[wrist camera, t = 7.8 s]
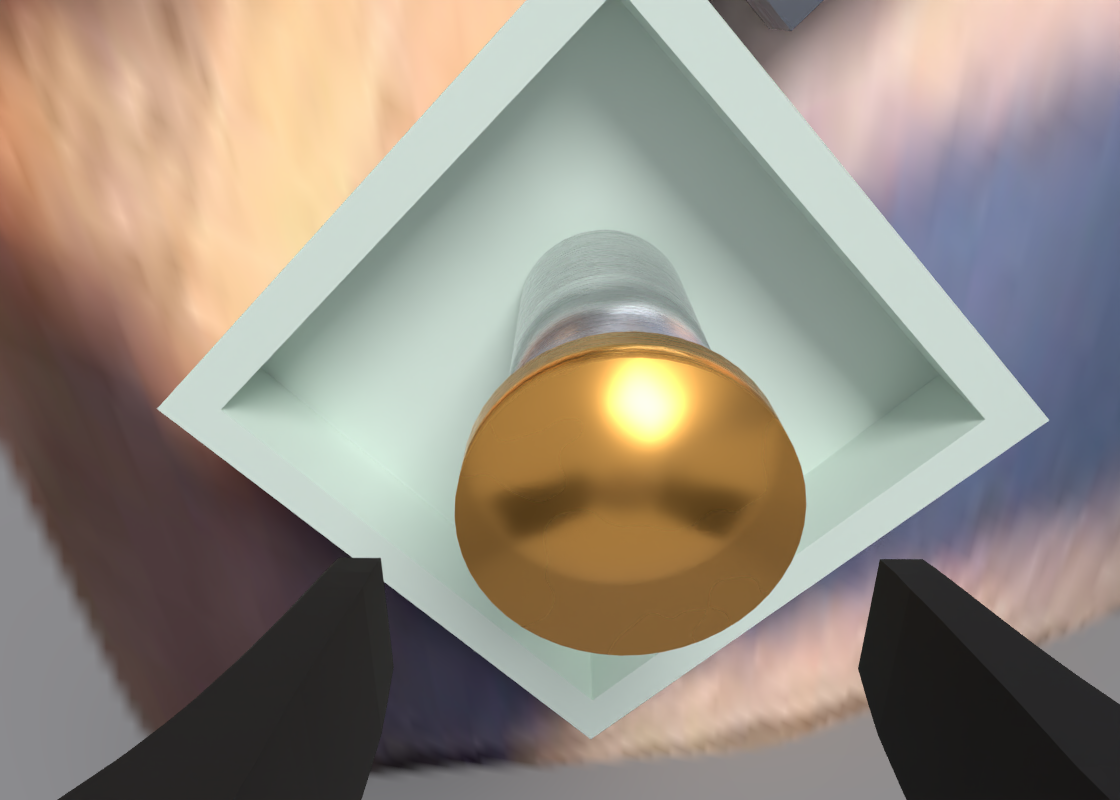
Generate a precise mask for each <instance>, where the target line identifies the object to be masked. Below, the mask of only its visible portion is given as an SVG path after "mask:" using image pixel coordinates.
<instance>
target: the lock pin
mask: <svg viewBox="0 0 1120 800" xmlns="http://www.w3.org/2000/svg"><path fill="white" fill-rule="evenodd" d="M805 514H806V489H805V481H804V477H803V472H802V468H801V464H800V462H799V459H798V457H797V454H796V451H795V449H794V446H793V445H792V443H791V441H790V439H789V437H788V435H787V433H786V431H785V429H784V427H783V426H782V424H781V422H780V420H779V418H778V416H777V414H776V412H775V411H774V409H773V407H772V406H771V404H770V402H769V401H768V399H767V397H766V396H765V395H764V393H763V392H762V391H761V390H760V388H759V387H758V386H757V385H756V384H755V382H754V381H753V380H752V379H751V378H750V377H748V376H747V375H746V374H745V373H744V372H743V371H742V370H741V369H740V368H739V367H737V366H736V365H734V364H733V363H732V362H730V361H729V360H727V359H726V358H724V357H723V356H721V355H720V354H718V353H716V352H714V351H712V350H711V349H710V347H709V344H708V342H707V340H706V337H705V335H704V333H703V331H702V328H701V326H700V324H699V321H698V319H697V317H696V314H695V312H694V310H693V308H692V305H691V303H690V301H689V298H688V296H687V294H686V291H685V289H684V287H683V284H682V282H681V280H680V278H679V275H678V273H677V271H676V270H675V268H674V266H673V265H672V263H671V262H670V261H669V260H668V258H667V257H666V256H665V255H664V254H663V253H662V252H661V251H660V250H659V249H658V248H656V247H655V246H653V245H652V244H651V243H649V242H648V241H646V240H644V239H642V238H640V237H638V236H635V235H632V234H629V233H625V232H621V231H615V230H594V231H588V232H583V233H580V234H576V235H573V236H571V237H569V238H567V239H564V240H562V241H561V242H559V243H558V244H556V245H554V246H553V247H552V248H551V249H549V250H548V251H547V252H546V253H545V254H544V255H543V256H542V257H541V258H540V259H539V260H538V261H537V263H536V264H535V265H534V267H533V268H532V270H531V271H530V273H529V275H528V277H527V279H526V281H525V284H524V287H523V290H522V295H521V299H520V306H519V313H518V320H517V326H516V333H515V340H514V347H513V353H512V360H511V367H510V374H509V377H508V378H507V379H506V380H505V381H504V382H503V383H502V384H501V385H500V386H499V387H498V388H497V390H496V391H495V392H494V393H493V394H492V396H491V397H490V398H489V400H488V401H487V403H486V404H485V405H484V407H483V408H482V410H481V412H480V414H479V416H478V417H477V419H476V421H475V423H474V425H473V427H472V430H471V433H470V436H469V439H468V441H467V444H466V449H465V453H464V458H463V462H462V467H461V471H460V476H459V481H458V486H457V491H456V496H455V516H454V517H455V526H456V534H457V539H458V543H459V546H460V550H461V553H462V556H463V558H464V561H465V563H466V565H467V567H468V570H469V572H470V573H471V575H472V577H473V578H474V580H475V581H476V583H477V585H478V586H479V588H480V589H481V590H482V591H483V593H484V594H485V595H486V596H487V597H488V599H489V600H490V601H491V602H492V603H493V604H494V605H495V606H496V607H497V608H498V609H499V610H500V611H502V612H503V613H504V614H505V615H506V616H507V617H508V618H510V619H511V620H513V621H514V622H516V623H517V624H518V625H520V626H521V627H523V628H524V629H526V630H528V631H530V632H532V633H534V634H535V635H537V636H539V637H541V638H543V639H546V640H548V641H551V642H553V643H556V644H558V645H561V646H565V647H568V648H572V649H575V650H579V651H584V652H590V653H596V654H605V655H619V656H624V655H645V654H652V653H660V652H665V651H669V650H674V649H678V648H682V647H685V646H688V645H691V644H694V643H697V642H700V641H702V640H705V639H707V638H709V637H711V636H713V635H715V634H717V633H719V632H722V631H723V630H725V629H726V628H728V627H730V626H731V625H733V624H735V623H736V622H738V621H739V620H741V619H742V618H743V617H745V616H746V615H747V614H748V613H750V612H751V611H752V610H754V609H755V608H756V607H757V606H758V605H759V604H760V603H761V602H762V601H763V600H764V599H765V598H766V597H767V596H768V595H769V594H770V593H771V592H772V590H773V589H774V588H775V586H776V585H777V584H778V583H779V581H780V580H781V579H782V577H783V576H784V574H785V572H786V571H787V569H788V567H789V566H790V564H791V562H792V560H793V558H794V555H795V553H796V551H797V548H798V546H799V543H800V540H801V536H802V532H803V528H804V524H805Z"/></svg>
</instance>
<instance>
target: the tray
mask: <svg viewBox="0 0 1120 800" xmlns="http://www.w3.org/2000/svg"><path fill="white" fill-rule="evenodd" d="M594 230H615V231H621V232H625V233H629V234H632V235H635V236H638V237H640V238H642V239H644V240H646V241H648V242H649V243H651V244H652V245H653V246H655V247H656V248H658V249H659V250H660V251H661V252H662V253H663V254H664V255H665V256H666V257H667V258H668V260H669V261H670V262H671V263H672V265H673V266H674V268H675V270H676V271H677V273H678V275H679V278H680V280H681V282H682V284H683V287H684V289H685V291H686V294H687V296H688V298H689V301H690V303H691V305H692V308H693V310H694V312H695V314H696V317H697V319H698V321H699V324H700V326H701V328H702V331H703V333H704V335H705V337H706V340H707V342H708V344H709V347H710V349H711V350H712V351H714V352H716V353H718V354H720V355H721V356H723V357H724V358H726V359H727V360H729V361H730V362H732V363H733V364H734V365H736V366H737V367H739V368H740V369H741V370H742V371H743V372H744V373H745V374H746V375H747V376H748V377H750V378H751V379H752V380H753V381H754V382H755V384H756V385H757V386H758V387H759V388H760V390H761V391H762V392H763V393H764V395H765V396H766V397H767V399H768V401H769V402H770V404H771V406H772V407H773V409H774V411H775V412H776V414H777V416H778V418H779V420H780V422H781V424H782V426H783V427H784V429H785V431H786V433H787V435H788V437H789V439H790V441H791V443H792V445H793V446H794V449H795V451H796V454H797V457H798V459H799V462H800V464H801V468H802V472H803V477H804V481H805V489H806V514H805V524H804V528H803V532H802V536H801V540H800V543H799V546H798V548H797V551H796V553H795V555H794V558H793V560H792V562H791V564H790V566H789V567H788V569H787V571H786V572H785V574H784V576H783V577H782V579H781V580H780V581H779V583H778V584H777V585H776V586H775V588H774V589H773V590H772V592H771V593H770V594H769V595H768V596H767V597H766V598H765V599H764V600H763V601H762V602H761V603H760V604H759V605H758V606H757V607H756V608H755V609H754V610H752V611H751V612H750V613H748V614H747V615H746V616H745V617H743V618H742V619H741V620H739V621H738V622H736V623H735V624H733V625H731V626H730V627H728V628H726V629H725V630H723V631H722V632H719V633H717V634H715V635H713V636H711V637H709V638H707V639H705V640H702V641H700V642H697V643H694V644H691V645H688V646H685V647H682V648H678V649H674V650H669V651H665V652H660V653H652V654H645V655H624V656H619V655H605V654H596V653H590V652H584V651H579V650H575V649H572V648H568V647H565V646H561V645H558V644H556V643H553V642H551V641H548V640H546V639H543V638H541V637H539V636H537V635H535V634H534V633H532V632H530V631H528V630H526V629H524V628H523V627H521V626H520V625H518V624H517V623H516V622H514V621H513V620H511V619H510V618H508V617H507V616H506V615H505V614H504V613H503V612H502V611H500V610H499V609H498V608H497V607H496V606H495V605H494V604H493V603H492V602H491V601H490V600H489V599H488V597H487V596H486V595H485V594H484V593H483V591H482V590H481V589H480V588H479V586H478V585H477V583H476V581H475V580H474V578H473V577H472V575H471V573H470V572H469V570H468V567H467V565H466V563H465V561H464V558H463V556H462V553H461V550H460V546H459V543H458V539H457V534H456V526H455V517H454V516H455V496H456V491H457V486H458V481H459V476H460V471H461V467H462V462H463V458H464V453H465V449H466V444H467V441H468V439H469V436H470V433H471V430H472V427H473V425H474V423H475V421H476V419H477V417H478V416H479V414H480V412H481V410H482V408H483V407H484V405H485V404H486V403H487V401H488V400H489V398H490V397H491V396H492V394H493V393H494V392H495V391H496V390H497V388H498V387H499V386H500V385H501V384H502V383H503V382H504V381H505V380H506V379H507V378H508V377H509V374H510V367H511V360H512V353H513V347H514V340H515V333H516V326H517V320H518V313H519V306H520V299H521V295H522V290H523V287H524V284H525V281H526V279H527V277H528V275H529V273H530V271H531V270H532V268H533V267H534V265H535V264H536V263H537V261H538V260H539V259H540V258H541V257H542V256H543V255H544V254H545V253H546V252H547V251H548V250H549V249H551V248H552V247H553V246H554V245H556V244H558V243H559V242H561V241H562V240H564V239H567V238H569V237H571V236H573V235H576V234H580V233H583V232H588V231H594ZM158 410H159V411H161V412H162V413H163V414H165V415H166V416H167V417H169V418H170V419H171V420H172V421H174V422H175V423H176V424H178V425H179V426H180V427H182V428H183V429H184V430H186V431H187V432H188V433H190V434H191V435H192V436H193V437H195V438H196V439H197V440H199V441H200V442H201V443H203V444H204V445H205V446H207V447H208V448H209V449H211V450H212V451H213V452H214V453H216V454H217V455H218V456H220V457H221V458H222V459H224V460H225V461H226V462H228V463H229V464H230V465H232V466H233V467H234V468H235V469H237V470H238V471H239V472H241V473H242V474H243V475H245V476H246V477H247V478H249V479H250V480H251V481H253V482H254V483H255V484H256V485H258V486H259V487H260V488H262V489H263V490H264V491H266V492H267V493H268V494H270V495H271V496H272V497H274V498H275V499H276V500H277V501H279V502H280V503H281V504H283V505H284V506H285V507H287V508H288V509H289V510H291V511H292V512H293V513H295V514H296V515H297V516H298V517H300V518H301V519H302V520H304V521H305V522H306V523H308V524H309V525H310V526H312V527H313V528H314V529H316V530H317V531H318V532H319V533H321V534H322V535H323V536H325V537H326V538H327V539H329V540H330V541H331V542H333V543H334V544H335V545H337V546H338V547H339V548H340V549H342V550H343V551H344V552H346V553H347V554H348V555H350V556H351V557H352V558H381V563H382V572H383V580H384V582H385V583H386V584H388V585H389V586H390V587H392V588H393V589H394V590H396V591H397V592H398V593H400V594H401V595H402V596H403V597H405V598H406V599H407V600H409V601H410V602H411V603H413V604H414V605H415V606H417V607H418V608H419V609H421V610H422V611H423V612H424V613H426V614H427V615H428V616H430V617H431V618H432V619H434V620H435V621H436V622H438V623H439V624H440V625H442V626H443V627H444V628H445V629H447V630H448V631H449V632H451V633H452V634H453V635H455V636H456V637H457V638H459V639H460V640H461V641H463V642H464V643H465V644H466V645H468V646H469V647H470V648H472V649H473V650H474V651H476V652H477V653H478V654H480V655H481V656H482V657H484V658H485V659H486V660H487V661H489V662H490V663H491V664H493V665H494V666H495V667H497V668H498V669H499V670H501V671H502V672H503V673H505V674H506V675H507V676H508V677H510V678H511V679H512V680H514V681H515V682H516V683H518V684H519V685H520V686H522V687H523V688H524V689H526V690H527V691H528V692H529V693H531V694H532V695H533V696H535V697H536V698H537V699H539V700H540V701H541V702H543V703H544V704H545V705H547V706H548V707H549V708H550V709H552V710H553V711H554V712H556V713H557V714H558V715H560V716H561V717H562V718H564V719H565V720H566V721H568V722H569V723H570V724H571V725H573V726H574V727H575V728H577V729H578V730H579V731H581V732H582V733H583V734H585V735H586V736H587V737H589V738H590V739H592V738H593V737H595V736H596V735H598V734H599V733H601V732H602V731H604V730H605V729H606V728H608V727H609V726H611V725H612V724H614V723H615V722H616V721H618V720H619V719H621V718H622V717H624V716H625V715H626V714H628V713H629V712H631V711H632V710H634V709H635V708H637V707H638V706H639V705H641V704H642V703H644V702H645V701H647V700H648V699H649V698H651V697H652V696H654V695H655V694H657V693H658V692H660V691H661V690H662V689H664V688H665V687H667V686H668V685H670V684H671V683H672V682H674V681H675V680H677V679H678V678H680V677H681V676H683V675H684V674H685V673H687V672H688V671H690V670H691V669H693V668H694V667H695V666H697V665H698V664H700V663H701V662H703V661H704V660H706V659H707V658H708V657H710V656H711V655H713V654H714V653H716V652H717V651H718V650H720V649H721V648H723V647H724V646H726V645H727V644H729V643H730V642H731V641H733V640H734V639H736V638H737V637H739V636H740V635H741V634H743V633H744V632H746V631H747V630H749V629H750V628H752V627H753V626H754V625H756V624H757V623H759V622H760V621H762V620H763V619H764V618H766V617H767V616H769V615H770V614H772V613H773V612H774V611H776V610H777V609H779V608H780V607H782V606H783V605H785V604H786V603H787V602H789V601H790V600H792V599H793V598H795V597H796V596H797V595H799V594H800V593H802V592H803V591H805V590H806V589H808V588H809V587H810V586H812V585H813V584H815V583H816V582H818V581H819V580H820V579H822V578H823V577H825V576H826V575H828V574H829V573H831V572H832V571H833V570H835V569H836V568H838V567H839V566H841V565H842V564H843V563H845V562H846V561H848V560H849V559H851V558H852V557H854V556H855V555H856V554H858V553H859V552H861V551H862V550H864V549H865V548H866V547H868V546H869V545H871V544H872V543H874V542H875V541H877V540H878V539H879V538H881V537H882V536H884V535H885V534H887V533H888V532H889V531H891V530H892V529H894V528H895V527H897V526H898V525H900V524H901V523H902V522H904V521H905V520H907V519H908V518H910V517H911V516H912V515H914V514H915V513H917V512H918V511H920V510H921V509H922V508H924V507H925V506H927V505H928V504H930V503H931V502H933V501H934V500H935V499H937V498H938V497H940V496H941V495H943V494H944V493H945V492H947V491H948V490H950V489H951V488H953V487H954V486H956V485H957V484H958V483H960V482H961V481H963V480H964V479H966V478H967V477H968V476H970V475H971V474H973V473H974V472H976V471H977V470H979V469H980V468H981V467H983V466H984V465H986V464H987V463H989V462H990V461H991V460H993V459H994V458H996V457H997V456H999V455H1000V454H1002V453H1003V452H1004V451H1006V450H1007V449H1009V448H1010V447H1012V446H1013V445H1014V444H1016V443H1017V442H1019V441H1020V440H1022V439H1023V438H1025V437H1026V436H1027V435H1029V434H1030V433H1032V432H1033V431H1035V430H1036V429H1037V428H1039V427H1040V426H1042V425H1043V424H1045V423H1046V422H1048V421H1049V419H1048V418H1047V417H1046V416H1045V414H1044V413H1043V412H1042V411H1041V409H1040V408H1039V407H1038V406H1037V405H1036V403H1035V402H1034V401H1033V400H1032V398H1031V397H1030V396H1029V395H1028V393H1027V392H1026V391H1025V390H1024V389H1023V387H1022V386H1021V385H1020V384H1019V382H1018V381H1017V380H1016V379H1015V377H1014V376H1013V375H1012V374H1011V373H1010V371H1009V370H1008V369H1007V368H1006V366H1005V365H1004V364H1003V363H1002V361H1001V360H1000V359H999V358H998V357H997V355H996V354H995V353H994V352H993V350H992V349H991V348H990V347H989V345H988V344H987V343H986V342H985V341H984V339H983V338H982V337H981V336H980V334H979V333H978V332H977V331H976V329H975V328H974V327H973V326H972V325H971V323H970V322H969V321H968V320H967V318H966V317H965V316H964V315H963V314H962V312H961V311H960V310H959V309H958V307H957V306H956V305H955V304H954V302H953V301H952V300H951V299H950V298H949V296H948V295H947V294H946V293H945V291H944V290H943V289H942V288H941V286H940V285H939V284H938V283H937V282H936V280H935V279H934V278H933V277H932V275H931V274H930V273H929V272H928V270H927V269H926V268H925V267H924V266H923V264H922V263H921V262H920V261H919V259H918V258H917V257H916V256H915V254H914V253H913V252H912V251H911V250H910V248H909V247H908V246H907V245H906V243H905V242H904V241H903V240H902V238H901V237H900V236H899V235H898V234H897V232H896V231H895V230H894V229H893V227H892V226H891V225H890V224H889V222H888V221H887V220H886V219H885V218H884V216H883V215H882V214H881V213H880V211H879V210H878V209H877V208H876V206H875V205H874V204H873V203H872V202H871V200H870V199H869V198H868V197H867V195H866V194H865V193H864V192H863V190H862V189H861V188H860V187H859V186H858V184H857V183H856V182H855V181H854V179H853V178H852V177H851V176H850V174H849V173H848V172H847V171H846V170H845V168H844V167H843V166H842V165H841V163H840V162H839V161H838V160H837V159H836V157H835V156H834V155H833V154H832V152H831V151H830V150H829V149H828V147H827V146H826V145H825V144H824V143H823V141H822V140H821V139H820V138H819V136H818V135H817V134H816V133H815V131H814V130H813V129H812V128H811V127H810V125H809V124H808V123H807V122H806V120H805V119H804V118H803V117H802V115H801V114H800V113H799V112H798V111H797V109H796V108H795V107H794V106H793V104H792V103H791V102H790V101H789V99H788V98H787V97H786V96H785V95H784V93H783V92H782V91H781V90H780V88H779V87H778V86H777V85H776V83H775V82H774V81H773V80H772V79H771V77H770V76H769V75H768V74H767V72H766V71H765V70H764V69H763V67H762V66H761V65H760V64H759V63H758V61H757V60H756V59H755V58H754V56H753V55H752V54H751V53H750V51H749V50H748V49H747V48H746V47H745V45H744V44H743V43H742V42H741V40H740V39H739V38H738V37H737V35H736V34H735V33H734V32H733V31H732V29H731V28H730V27H729V26H728V24H727V23H726V22H725V21H724V20H723V18H722V17H721V16H720V15H719V13H718V12H717V11H716V10H715V8H714V7H713V6H712V5H711V4H710V2H709V1H708V0H526V1H525V2H524V3H523V5H522V6H521V7H520V8H519V9H518V10H517V11H516V12H515V13H514V15H513V16H512V17H511V18H510V19H509V20H508V21H507V22H506V23H505V24H504V26H503V27H502V28H501V29H500V30H499V31H498V32H497V33H496V34H495V36H494V37H493V38H492V39H491V40H490V41H489V42H488V43H487V44H486V45H485V47H484V48H483V49H482V50H481V51H480V52H479V53H478V54H477V55H476V57H475V58H474V59H473V60H472V61H471V62H470V63H469V64H468V65H467V67H466V68H465V69H464V70H463V71H462V72H461V73H460V74H459V75H458V76H457V78H456V79H455V80H454V81H453V82H452V83H451V84H450V85H449V86H448V88H447V89H446V90H445V91H444V92H443V93H442V94H441V95H440V96H439V98H438V99H437V100H436V101H435V102H434V103H433V104H432V105H431V106H430V107H429V109H428V110H427V111H426V112H425V113H424V114H423V115H422V116H421V117H420V119H419V120H418V121H417V122H416V123H415V124H414V125H413V126H412V127H411V129H410V130H409V131H408V132H407V133H406V134H405V135H404V136H403V137H402V138H401V140H400V141H399V142H398V143H397V144H396V145H395V146H394V147H393V148H392V150H391V151H390V152H389V153H388V154H387V155H386V156H385V157H384V158H383V159H382V161H381V162H380V163H379V164H378V165H377V166H376V167H375V168H374V169H373V171H372V172H371V173H370V174H369V175H368V176H367V177H366V178H365V179H364V181H363V182H362V183H361V184H360V185H359V186H358V187H357V188H356V189H355V190H354V192H353V193H352V194H351V195H350V196H349V197H348V198H347V199H346V200H345V202H344V203H343V204H342V205H341V206H340V207H339V208H338V209H337V210H336V212H335V213H334V214H333V215H332V216H331V217H330V218H329V219H328V220H327V221H326V223H325V224H324V225H323V226H322V227H321V228H320V229H319V230H318V231H317V233H316V234H315V235H314V236H313V237H312V238H311V239H310V240H309V241H308V242H307V244H306V245H305V246H304V247H303V248H302V249H301V250H300V251H299V252H298V254H297V255H296V256H295V257H294V258H293V259H292V260H291V261H290V262H289V264H288V265H287V266H286V267H285V268H284V269H283V270H282V271H281V272H280V273H279V275H278V276H277V277H276V278H275V279H274V280H273V281H272V282H271V283H270V285H269V286H268V287H267V288H266V289H265V290H264V291H263V292H262V293H261V295H260V296H259V297H258V298H257V299H256V300H255V301H254V302H253V303H252V304H251V306H250V307H249V308H248V309H247V310H246V311H245V312H244V313H243V314H242V316H241V317H240V318H239V319H238V320H237V321H236V322H235V323H234V324H233V326H232V327H231V328H230V329H229V330H228V331H227V332H226V333H225V334H224V335H223V337H222V338H221V339H220V340H219V341H218V342H217V343H216V344H215V345H214V347H213V348H212V349H211V350H210V351H209V352H208V353H207V354H206V355H205V356H204V358H203V359H202V360H201V361H200V362H199V363H198V364H197V365H196V366H195V368H194V369H193V370H192V371H191V372H190V373H189V374H188V375H187V376H186V378H185V379H184V380H183V381H182V382H181V383H180V384H179V385H178V386H177V387H176V389H175V390H174V391H173V392H172V393H171V394H170V395H169V396H168V397H167V399H166V400H165V401H164V402H163V403H162V404H161V405H160V406H159V407H158Z"/></svg>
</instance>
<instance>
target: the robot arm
mask: <svg viewBox="0 0 1120 800" xmlns="http://www.w3.org/2000/svg"><path fill="white" fill-rule="evenodd" d="M858 670H859V673H860V677H861V680H862V684H863V687H864V691H865V694H866V698H867V701H868V705H869V708H870V711H871V714H872V717H873V721H874V724H875V727H876V730H877V733H878V736H879V738H880V740H881V743H882V745H883V747H884V750H885V752H886V754H887V757H888V759H889V761H890V764H891V766H892V768H893V770H894V773H895V775H896V777H897V779H898V781H899V784H900V786H901V789H902V791H903V793H904V795H905V797H906V799H907V800H1120V704H1118V703H1117V702H1115V701H1114V700H1112V699H1111V698H1109V697H1108V696H1107V695H1105V694H1104V693H1102V692H1101V691H1099V690H1098V689H1096V688H1095V687H1093V686H1092V685H1090V684H1089V683H1087V682H1086V681H1085V680H1083V679H1082V678H1080V677H1079V676H1077V675H1076V674H1074V673H1073V672H1072V671H1070V670H1069V669H1068V668H1066V667H1065V666H1063V665H1062V664H1061V663H1059V662H1058V661H1056V660H1055V659H1054V658H1052V657H1051V656H1050V655H1048V654H1047V653H1046V652H1044V651H1043V650H1041V649H1040V648H1039V647H1037V646H1036V645H1035V644H1033V643H1032V642H1031V641H1029V640H1028V639H1027V638H1025V637H1024V636H1023V635H1021V634H1020V633H1019V632H1018V631H1016V630H1015V629H1014V628H1012V627H1011V626H1010V625H1008V624H1007V623H1006V622H1004V621H1003V620H1002V619H1001V618H999V617H998V616H997V615H995V614H994V613H993V612H992V611H990V610H989V609H988V608H986V607H985V606H984V605H983V604H981V603H980V602H979V601H977V600H976V599H975V598H974V597H972V596H971V595H970V594H968V593H967V592H966V591H965V590H963V589H962V588H961V587H959V586H958V585H957V584H955V583H954V582H953V581H952V580H950V579H949V578H948V577H946V576H945V575H944V574H942V573H941V572H940V571H938V570H937V569H936V568H934V567H933V566H931V565H930V564H928V563H927V562H926V561H924V560H923V559H880V562H879V567H878V572H877V577H876V582H875V587H874V592H873V597H872V602H871V607H870V612H869V617H868V622H867V627H866V632H865V637H864V642H863V647H862V652H861V657H860V662H859V667H858ZM392 673H393V658H392V649H391V641H390V632H389V623H388V615H387V606H386V598H385V589H384V580H383V572H382V563H381V558H338V559H337V560H336V561H335V562H334V563H333V564H332V565H331V566H330V567H329V568H328V569H327V570H326V571H325V572H324V573H323V574H322V575H321V576H320V577H319V578H318V579H317V581H316V582H315V583H314V584H313V585H312V586H311V587H310V588H309V589H308V590H307V591H306V592H305V593H304V594H303V595H302V596H301V597H300V598H299V600H298V601H297V602H296V603H295V604H294V605H293V606H292V607H291V608H290V609H289V610H288V611H287V612H286V613H285V614H284V615H283V616H282V617H281V618H280V619H279V620H278V621H277V622H276V623H275V624H274V625H273V626H272V627H271V628H270V629H269V630H268V631H267V632H266V633H265V634H264V635H263V636H262V637H261V638H260V639H259V640H258V641H257V642H256V643H255V644H254V645H253V646H252V647H251V648H250V649H249V650H248V651H247V652H246V653H245V654H244V655H243V656H242V657H241V658H240V659H239V660H238V661H236V662H235V663H234V664H233V665H232V666H231V667H230V668H229V669H228V670H227V671H225V672H224V673H223V674H222V675H221V676H220V677H219V678H218V679H217V680H215V681H214V682H213V683H212V684H211V685H210V686H209V687H208V688H207V689H205V690H204V691H203V692H202V693H201V694H200V695H199V696H198V697H197V698H195V699H194V700H193V701H192V702H191V703H190V704H188V705H187V706H186V707H185V708H184V709H182V710H181V711H180V712H179V713H178V714H176V715H175V716H174V717H173V718H171V719H170V720H169V721H168V722H166V723H165V724H164V725H163V726H161V727H160V728H159V729H157V730H156V731H155V732H153V733H152V734H151V735H149V736H148V737H147V738H145V739H144V740H143V741H142V742H140V743H139V744H138V745H136V746H135V747H134V748H132V749H131V750H130V751H128V752H127V753H126V754H124V755H123V756H122V757H120V758H119V759H117V760H116V761H114V762H113V763H112V764H110V765H108V766H107V767H105V768H104V769H103V770H101V771H100V772H98V773H97V774H95V775H94V776H92V777H91V778H89V779H88V780H86V781H85V782H83V783H82V784H80V785H79V786H77V787H76V788H74V789H73V790H71V791H70V792H68V793H67V794H65V795H64V796H62V797H61V798H59V799H58V800H361V799H362V796H363V792H364V789H365V786H366V783H367V780H368V776H369V773H370V770H371V767H372V763H373V760H374V757H375V753H376V750H377V747H378V743H379V740H380V737H381V733H382V728H383V723H384V718H385V713H386V707H387V702H388V696H389V690H390V684H391V678H392Z"/></svg>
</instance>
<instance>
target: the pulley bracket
mask: <svg viewBox="0 0 1120 800" xmlns="http://www.w3.org/2000/svg"><path fill="white" fill-rule="evenodd" d="M746 1H747V2H748V3H749V5H750V6H751V7H752V8H753V10H754V11H755V12H756V13H757V15H758V16H759V17H760V18H761V20H762V21H763V22H764V23H765V25H766V26H767V27H768V28H769V29H775V30H785V31H792V30H793V29H794V28H795V27H796V26H797V25H798V24H799V23H800V22H801V21H802V20H803V19H804V18H805V17H807V16H808V15H809V14H810V13H811V12H812V11H813V10H814V9H815V8H816V7H817V6H818V5H819V4H820V3H821V2H822V1H823V0H746Z"/></svg>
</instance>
